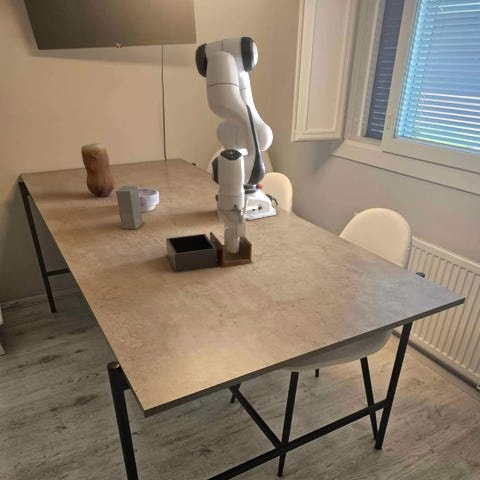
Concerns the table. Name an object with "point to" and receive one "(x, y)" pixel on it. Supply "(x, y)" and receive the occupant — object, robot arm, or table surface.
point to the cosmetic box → (129, 207)
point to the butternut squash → (97, 170)
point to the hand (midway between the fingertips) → (231, 239)
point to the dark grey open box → (191, 252)
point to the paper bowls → (148, 199)
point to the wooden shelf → (244, 249)
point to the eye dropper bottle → (230, 242)
